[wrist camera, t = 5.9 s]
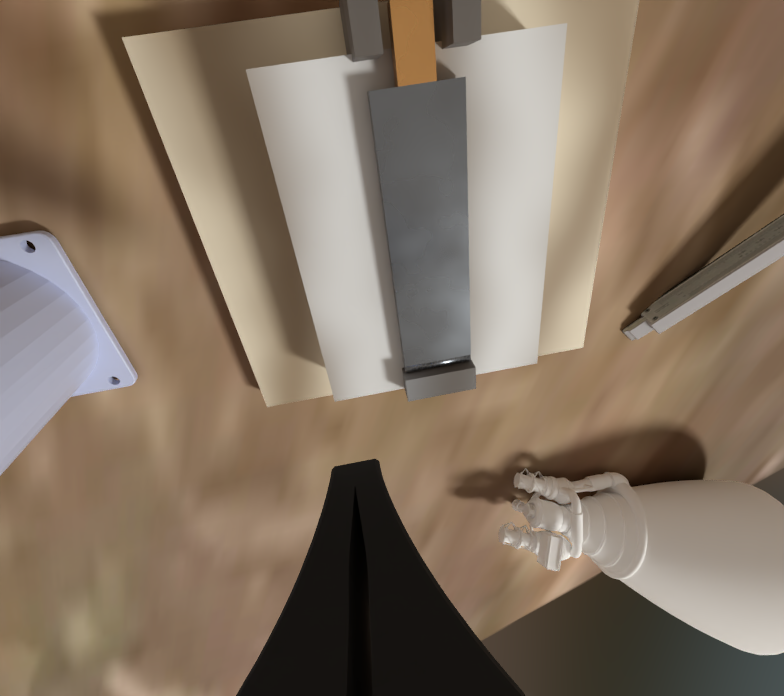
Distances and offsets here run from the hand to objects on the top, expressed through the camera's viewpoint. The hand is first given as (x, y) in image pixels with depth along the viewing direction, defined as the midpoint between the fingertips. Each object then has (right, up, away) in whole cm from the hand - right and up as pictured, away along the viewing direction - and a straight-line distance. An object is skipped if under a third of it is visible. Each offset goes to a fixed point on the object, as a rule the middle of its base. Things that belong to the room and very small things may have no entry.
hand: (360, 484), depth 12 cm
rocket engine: (+19, -6, +20) cm, 28 cm away
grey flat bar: (+2, +9, +3) cm, 10 cm away
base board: (+2, +10, +7) cm, 12 cm away
